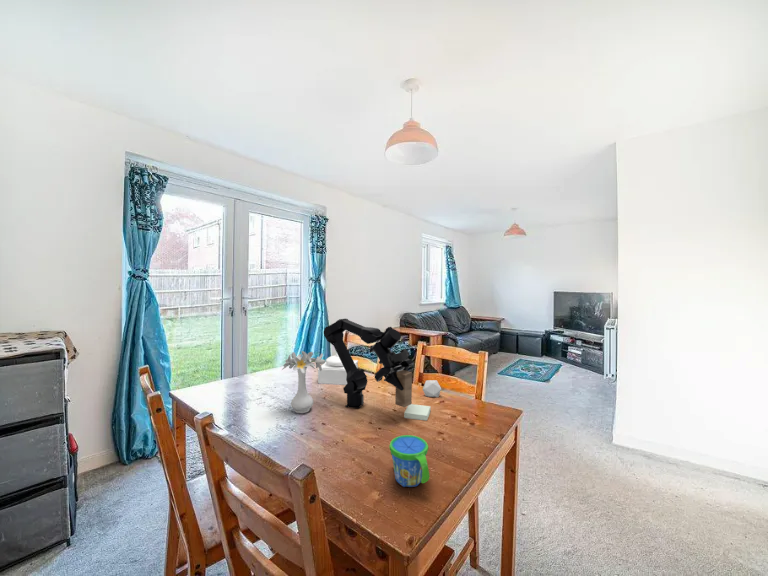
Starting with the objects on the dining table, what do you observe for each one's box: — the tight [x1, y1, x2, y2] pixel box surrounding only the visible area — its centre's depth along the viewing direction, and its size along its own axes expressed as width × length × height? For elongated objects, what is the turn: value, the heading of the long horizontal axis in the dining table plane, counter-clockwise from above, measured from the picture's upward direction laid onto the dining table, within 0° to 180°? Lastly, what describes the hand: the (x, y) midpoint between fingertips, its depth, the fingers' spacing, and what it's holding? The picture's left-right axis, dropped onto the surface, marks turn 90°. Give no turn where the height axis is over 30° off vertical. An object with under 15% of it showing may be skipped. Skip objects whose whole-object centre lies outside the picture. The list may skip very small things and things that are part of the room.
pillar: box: [394, 370, 413, 408], centre depth 122 cm, size 4×4×12 cm
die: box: [422, 379, 442, 398], centre depth 149 cm, size 8×9×10 cm
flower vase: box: [281, 350, 326, 414], centre depth 135 cm, size 13×18×25 cm
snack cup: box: [388, 434, 431, 488], centre depth 88 cm, size 16×10×10 cm
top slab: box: [403, 403, 432, 421], centre depth 127 cm, size 9×9×2 cm
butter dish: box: [317, 352, 359, 386], centre depth 177 cm, size 18×18×16 cm
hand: (406, 388), depth 122 cm, fingers closed on pillar, 4 cm apart
